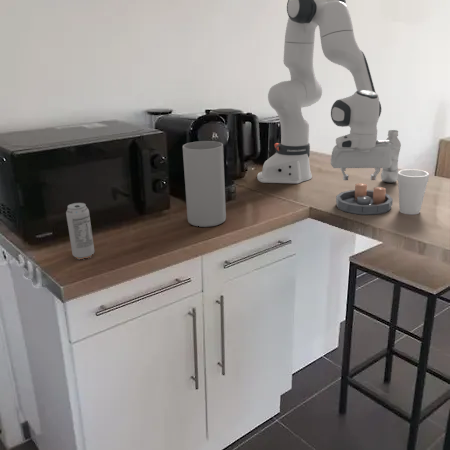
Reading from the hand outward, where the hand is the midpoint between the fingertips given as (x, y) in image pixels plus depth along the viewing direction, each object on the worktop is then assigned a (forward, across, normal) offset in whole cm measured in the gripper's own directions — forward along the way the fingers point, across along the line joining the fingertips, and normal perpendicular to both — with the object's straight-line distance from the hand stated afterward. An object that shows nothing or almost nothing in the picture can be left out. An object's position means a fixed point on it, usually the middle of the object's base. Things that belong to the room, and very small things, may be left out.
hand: (359, 179), depth 177 cm
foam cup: (+7, -15, +12) cm, 20 cm away
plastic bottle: (+8, -17, -22) cm, 29 cm away
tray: (+8, -1, +6) cm, 10 cm away
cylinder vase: (+9, +52, +17) cm, 55 cm away
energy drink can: (+9, +85, +44) cm, 96 cm away
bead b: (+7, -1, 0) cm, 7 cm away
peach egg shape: (+6, -6, +6) cm, 10 cm away
